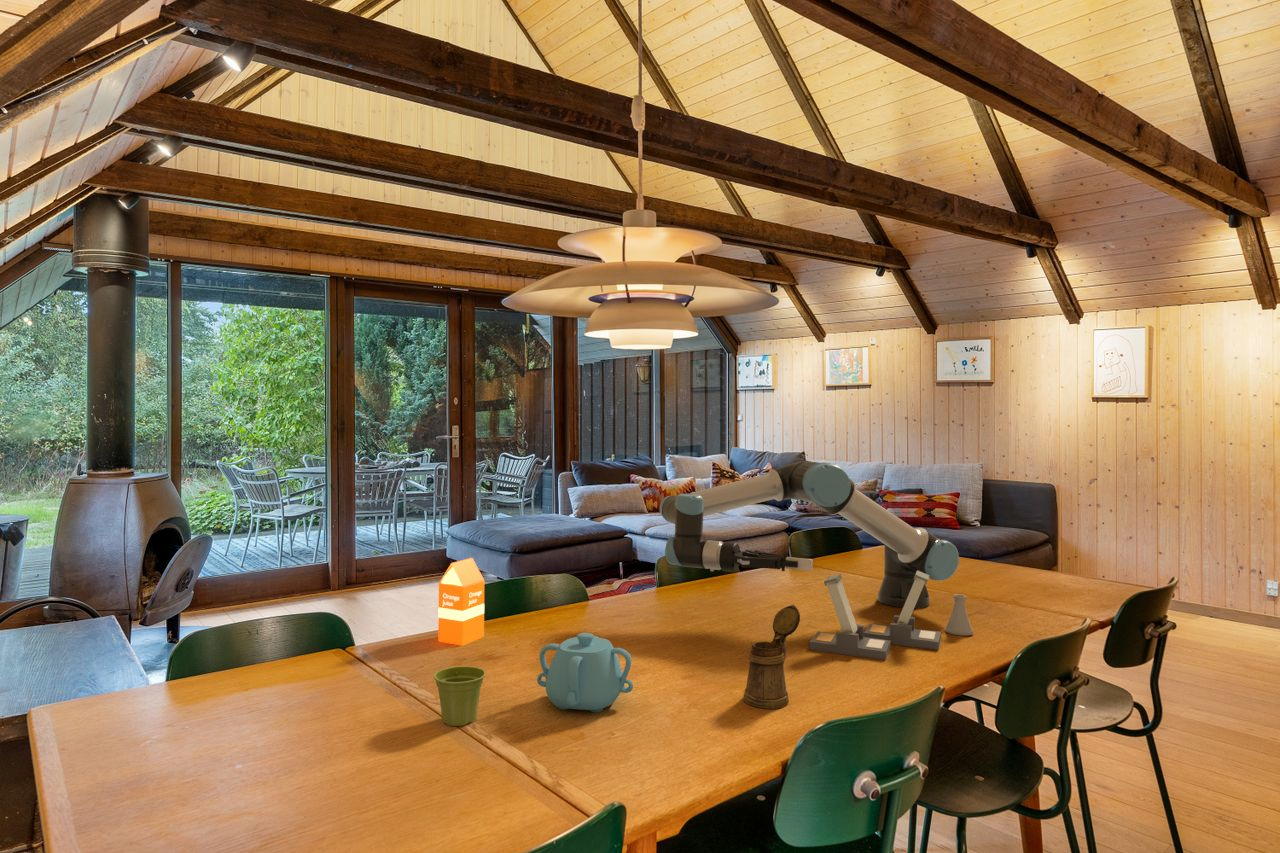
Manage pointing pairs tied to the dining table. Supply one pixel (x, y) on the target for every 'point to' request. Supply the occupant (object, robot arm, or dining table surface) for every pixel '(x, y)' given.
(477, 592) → the orange juice
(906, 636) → the housing far
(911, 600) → the lever far
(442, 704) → the plant pot
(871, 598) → the dining table surface
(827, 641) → the housing near
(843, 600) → the lever near
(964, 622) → the flask
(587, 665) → the decorative pot
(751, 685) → the wooden mug
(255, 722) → the dining table surface
